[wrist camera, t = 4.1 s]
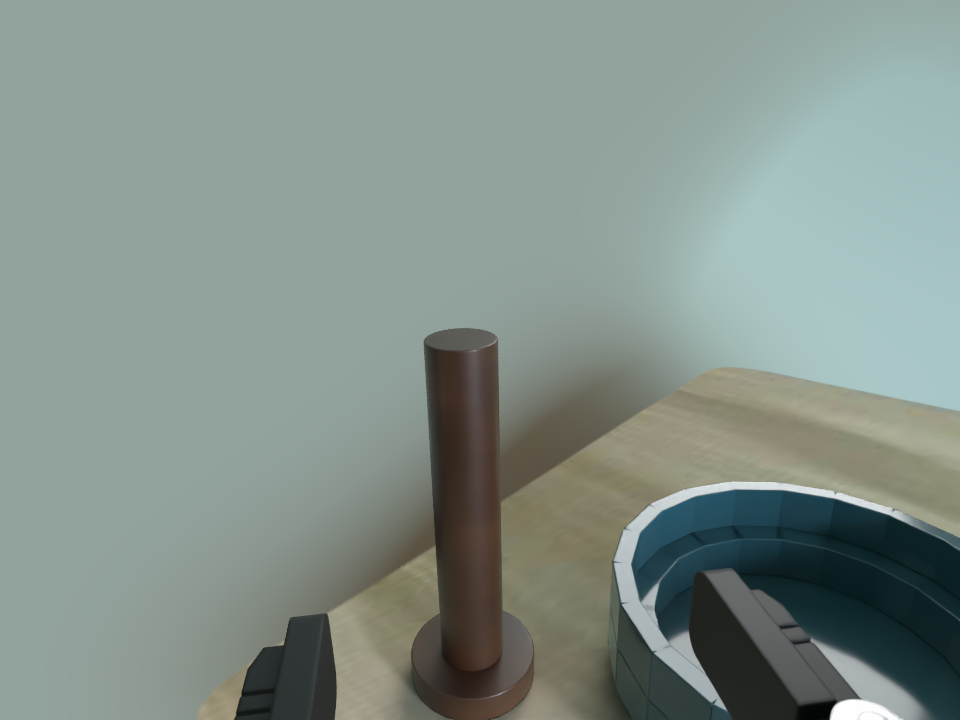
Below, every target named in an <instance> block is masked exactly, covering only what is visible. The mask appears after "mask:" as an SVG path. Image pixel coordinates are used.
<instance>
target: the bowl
mask: <svg viewBox="0 0 960 720" xmlns="http://www.w3.org/2000/svg"><path fill="white" fill-rule="evenodd" d="M725 568H731V569H733V570H734V571H735V572H736V573H737V574H738V575H739V576H740V578H741V579H742V580H743V581H744V583H745V584H746V585H747V586H748V588H749V589H750V590H757V589H760V590H761V591H763V592H764V593H766V594H767V595H769V596H770V597H772V598H773V599H775V600H776V601H778V602H779V603H781V604H782V605H783V606H784V607H785V609H786V610H787V611H788V612H789V613H790V615H791V616H792V617H793V618H794V619H795V621H796V622H797V623H798V626H799V627H801V628H802V629H803V630H804V631H805V632H806V634H807V635H808V636H809V637H810V640H811V642H812V643H813V642H814V643H815V644H816V646H817V647H818V648H819V649H820V650H821V652H822V653H823V654H824V655H825V656H826V658H827V659H828V660H829V661H830V662H831V664H832V665H833V666H834V667H835V668H836V670H837V671H838V672H839V673H840V674H841V675H842V677H843V678H844V679H845V680H846V681H847V683H848V684H849V685H850V686H851V687H852V689H853V690H854V691H855V692H856V693H857V695H858V696H859V697H860V698H861V699H862V700H866V701H870V702H874V703H876V704H879V705H881V706H883V707H885V708H887V709H889V710H891V711H892V712H894V713H896V714H897V715H898V716H900V717H901V718H902V719H903V720H960V538H958V537H956V536H954V535H952V534H950V533H948V532H946V531H943V530H941V529H939V528H937V527H934V526H932V525H930V524H927V523H925V522H923V521H921V520H918V519H916V518H914V517H912V516H909V515H907V514H905V513H903V512H900V511H898V510H894V509H893V508H889V507H886V506H883V505H879V504H876V503H872V502H869V501H866V500H862V499H859V498H856V497H852V496H849V495H846V494H842V493H839V492H835V491H829V490H823V489H817V488H811V487H804V486H798V485H792V484H786V483H779V482H724V483H718V484H712V485H705V486H699V487H693V488H687V489H683V490H681V491H679V492H676V493H674V494H672V495H669V496H667V497H665V498H662V499H660V500H658V501H655V502H653V503H651V504H649V505H648V506H647V507H646V508H645V509H644V510H643V511H642V512H641V513H640V514H639V515H638V516H636V517H635V518H634V519H633V520H632V521H631V522H630V523H629V524H628V525H627V526H626V527H625V528H624V529H623V531H622V534H621V537H620V540H619V543H618V546H617V549H616V552H615V555H614V558H613V561H612V576H611V594H610V614H609V632H608V645H609V652H610V658H611V665H612V671H613V678H614V685H615V687H616V690H617V692H618V694H619V696H620V697H621V699H622V701H623V703H624V705H625V707H626V709H627V710H628V712H629V714H630V716H631V718H632V720H733V719H732V718H731V716H730V714H729V712H728V711H727V709H726V707H725V706H724V704H723V702H722V701H721V699H720V697H719V695H718V694H717V692H716V690H715V689H714V687H713V685H712V684H711V682H710V680H709V678H708V677H707V675H706V673H705V672H704V670H703V668H702V666H701V665H700V663H699V661H698V660H697V658H696V656H695V654H694V651H693V649H692V645H691V641H690V636H689V620H690V610H691V600H692V591H693V581H694V576H695V574H696V573H697V572H699V571H708V570H716V569H725Z"/></svg>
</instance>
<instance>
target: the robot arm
mask: <svg viewBox="0 0 960 720" xmlns="http://www.w3.org/2000/svg"><path fill="white" fill-rule="evenodd" d="M689 636H690V641H691V645H692V649H693V651H694V654H695V656H696V658H697V660H698V661H699V663H700V665H701V666H702V668H703V670H704V672H705V673H706V675H707V677H708V678H709V680H710V682H711V684H712V685H713V687H714V689H715V690H716V692H717V694H718V695H719V697H720V699H721V701H722V702H723V704H724V706H725V707H726V709H727V711H728V712H729V714H730V716H731V718H732V719H733V720H903V719H902V718H901V717H900V716H898V715H897V714H896V713H894V712H892V711H891V710H889V709H887V708H885V707H883V706H881V705H879V704H876V703H874V702H870V701H866V700H862V699H861V698H860V697H859V696H858V695H857V693H856V692H855V691H854V690H853V689H852V687H851V686H850V685H849V684H848V683H847V681H846V680H845V679H844V678H843V677H842V675H841V674H840V673H839V672H838V671H837V670H836V668H835V667H834V666H833V665H832V664H831V662H830V661H829V660H828V659H827V658H826V656H825V655H824V654H823V653H822V652H821V650H820V649H819V648H818V647H817V646H816V644H815V643H814V642H813V643H812V642H811V640H810V637H809V636H808V635H807V634H806V632H805V631H804V630H803V629H802V628H801V627H799V626H798V623H797V622H796V621H795V619H794V618H793V617H792V616H791V615H790V613H789V612H788V611H787V610H786V609H785V607H784V606H783V605H782V604H781V603H779V602H778V601H776V600H775V599H773V598H772V597H770V596H769V595H767V594H766V593H764V592H763V591H761V590H760V589H757V590H750V589H749V588H748V586H747V585H746V584H745V583H744V581H743V580H742V579H741V578H740V576H739V575H738V574H737V573H736V572H735V571H734V570H733V569H731V568H725V569H716V570H708V571H699V572H697V573H696V574H695V576H694V581H693V591H692V600H691V610H690V620H689ZM336 689H337V688H336V670H335V662H334V655H333V647H332V640H331V633H330V625H329V619H328V615H327V614H317V615H309V616H300V617H292V618H290V620H289V624H288V628H287V633H286V638H285V643H284V645H282V646H274V647H265V648H263V649H262V651H261V652H260V653H259V655H258V656H257V657H256V659H255V660H254V662H253V663H252V664H251V666H250V667H249V668H248V670H247V674H246V678H245V681H244V685H243V689H242V696H241V697H240V700H239V704H238V708H237V711H236V717H235V719H234V720H335V709H336Z"/></svg>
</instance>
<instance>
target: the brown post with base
mask: <svg viewBox="0 0 960 720" xmlns="http://www.w3.org/2000/svg"><path fill="white" fill-rule="evenodd" d="M424 355H425V373H426V389H427V406H428V422H429V439H430V457H431V474H432V489H433V508H434V525H435V541H436V558H437V575H438V592H439V609H440V614H438V615H437V616H435V617H433V618H432V619H431V620H429V621H428V622H427V623H426V624H425V625H424V626H423V627H422V628H421V630H420V631H419V632H418V634H417V636H416V638H415V640H414V643H413V646H412V651H411V660H412V672H413V681H414V685H415V689H416V691H417V693H418V695H419V696H420V697H421V699H422V700H423V702H424V703H425V704H426V705H427V706H428V707H430V708H431V709H432V710H434V711H435V712H437V713H439V714H440V715H443V716H445V717H447V718H451V719H454V720H489V719H492V718H495V717H498V716H500V715H503V714H505V713H507V712H508V711H510V710H511V709H513V708H514V707H515V706H517V705H518V704H519V703H520V702H521V701H522V700H523V698H524V697H525V696H526V694H527V693H528V691H529V689H530V687H531V684H532V681H533V675H534V646H533V641H532V639H531V636H530V634H529V632H528V631H527V629H526V628H525V626H524V625H523V624H522V623H521V622H520V621H519V620H518V619H516V618H515V617H514V616H512V615H510V614H509V613H507V612H505V611H503V610H502V552H501V497H500V496H501V495H500V436H499V383H498V382H499V380H498V379H499V378H498V338H497V336H496V335H495V334H493V333H491V332H488V331H484V330H480V329H471V328H470V329H469V328H459V329H448V330H443V331H439V332H435V333H433V334H430V335H429V336H427V337H426V338H425V340H424Z"/></svg>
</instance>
